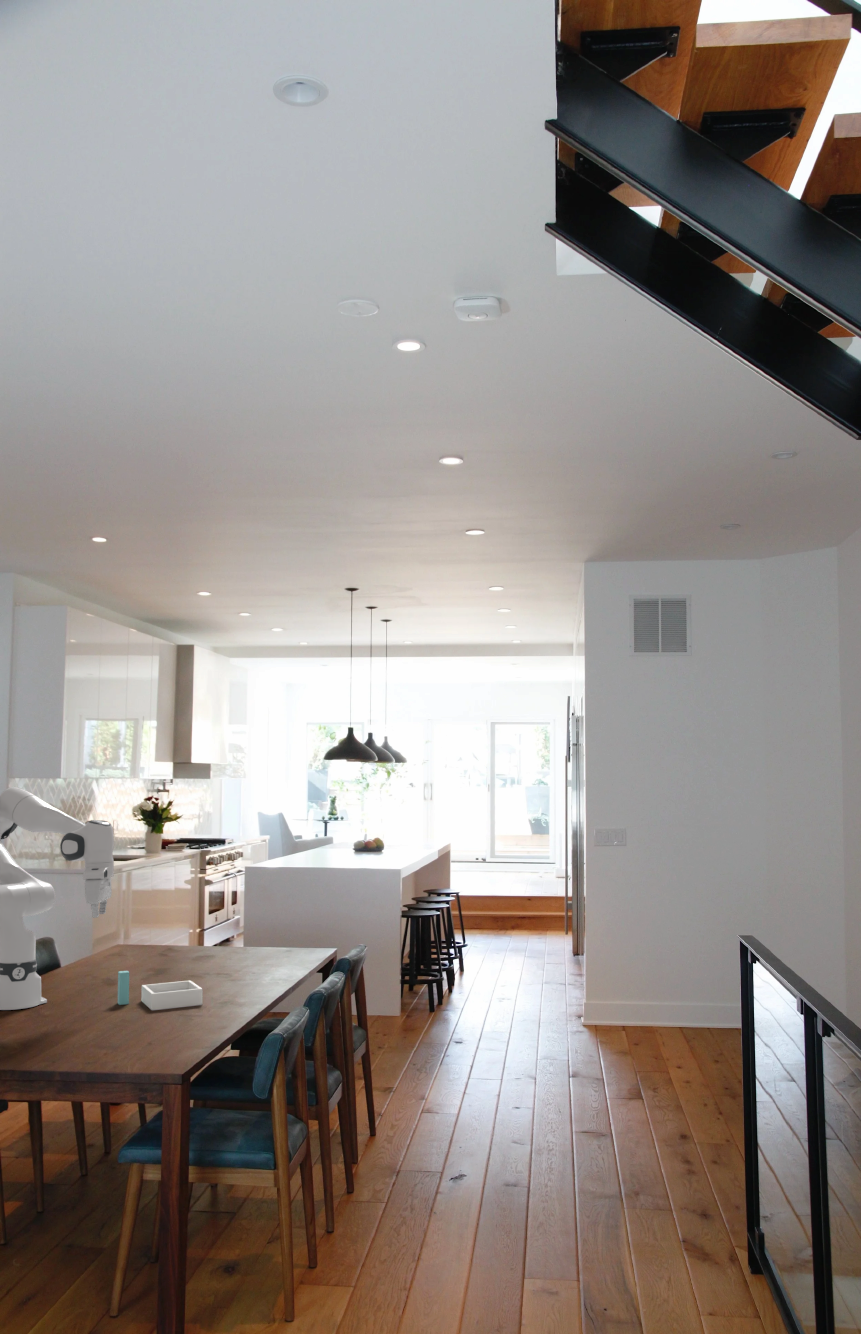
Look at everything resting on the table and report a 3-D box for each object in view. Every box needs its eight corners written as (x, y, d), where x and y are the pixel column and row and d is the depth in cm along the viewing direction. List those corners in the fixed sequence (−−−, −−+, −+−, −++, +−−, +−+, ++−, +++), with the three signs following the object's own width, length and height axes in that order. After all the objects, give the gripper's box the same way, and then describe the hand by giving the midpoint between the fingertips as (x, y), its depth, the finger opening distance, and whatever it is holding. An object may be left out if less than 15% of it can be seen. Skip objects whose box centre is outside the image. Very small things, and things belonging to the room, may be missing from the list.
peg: (117, 1003, 335) (118, 971, 336) (127, 1002, 336) (127, 970, 337) (119, 1005, 332) (119, 973, 333) (128, 1004, 334) (129, 972, 335)
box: (141, 1001, 338) (141, 985, 338) (190, 995, 345) (190, 980, 346) (151, 1010, 324) (152, 994, 324) (202, 1004, 331) (202, 988, 331)
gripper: (96, 869, 341) (96, 912, 339) (81, 874, 320) (81, 920, 319) (116, 868, 341) (116, 911, 339) (102, 873, 321) (102, 919, 319)
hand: (99, 915), depth 329 cm, fingers open, 8 cm apart
